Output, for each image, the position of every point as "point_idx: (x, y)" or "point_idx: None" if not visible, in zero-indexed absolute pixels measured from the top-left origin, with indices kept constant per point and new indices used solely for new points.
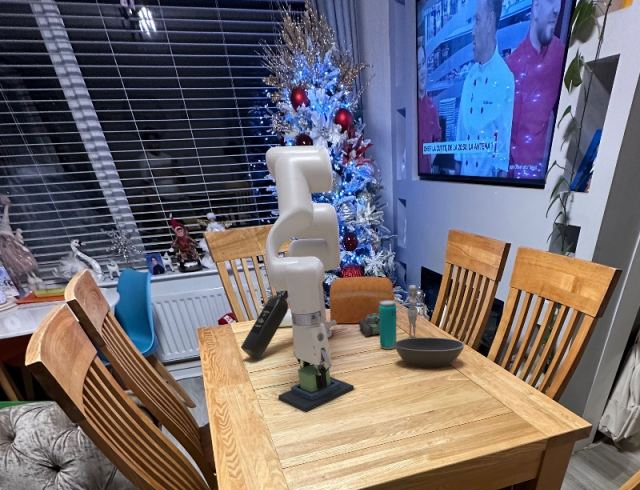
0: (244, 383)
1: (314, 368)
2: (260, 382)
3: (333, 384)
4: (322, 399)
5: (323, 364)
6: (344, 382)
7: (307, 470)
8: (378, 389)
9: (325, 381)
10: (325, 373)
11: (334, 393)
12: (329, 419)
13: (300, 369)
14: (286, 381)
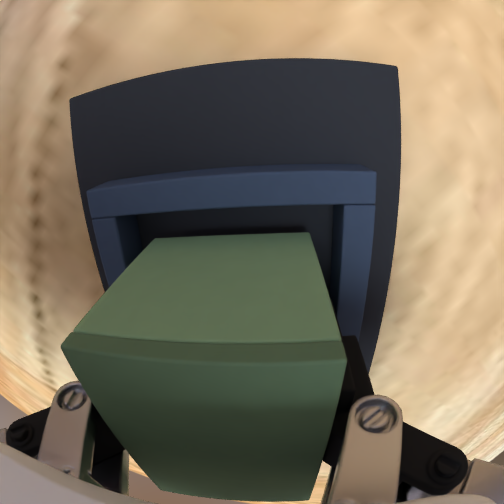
0: (5, 366)
1: (238, 464)
2: (6, 342)
3: (349, 236)
4: (370, 350)
5: (383, 500)
6: (295, 64)
7: (479, 451)
8: (476, 10)
9: (360, 355)
10: (352, 382)
11: (383, 259)
12: (459, 376)
13: (170, 488)
14: (18, 285)
